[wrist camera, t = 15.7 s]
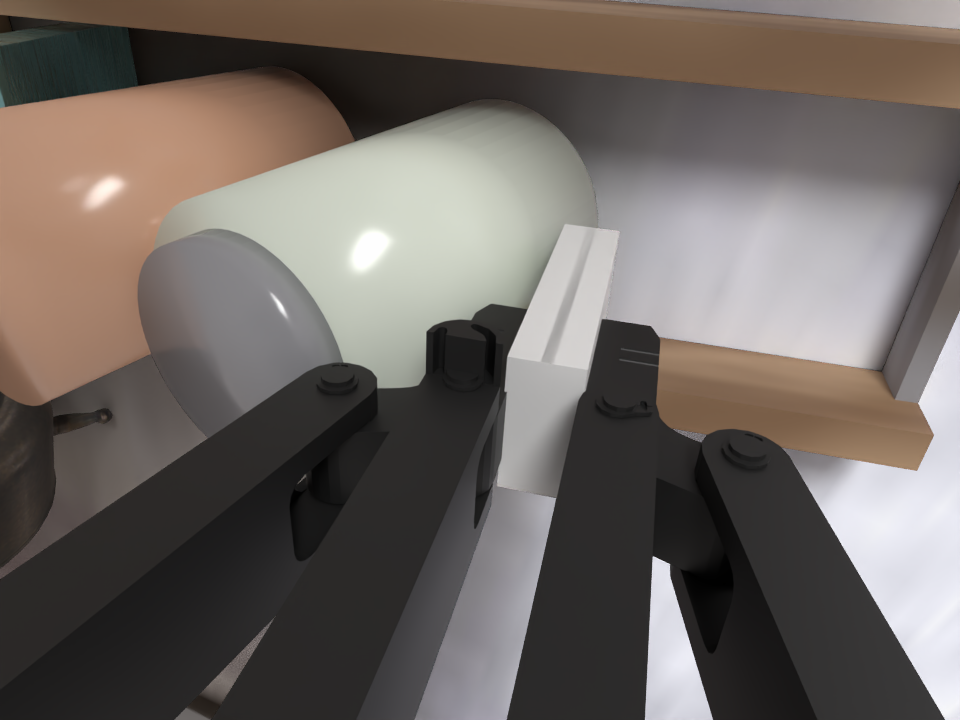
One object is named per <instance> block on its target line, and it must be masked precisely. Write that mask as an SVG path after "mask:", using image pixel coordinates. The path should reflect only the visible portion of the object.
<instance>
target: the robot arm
mask: <svg viewBox="0 0 960 720" xmlns="http://www.w3.org/2000/svg"><path fill="white" fill-rule="evenodd" d="M619 234H620V231H614V230H607V229H599V228H592V227H584V226H576V225H569V224H565V225H564V227H563V229H562V232H561V234H560V236H559V239H558V241H557V243H556V246H555V248H554V250H553V252H552V255H551V257H550V259H549V262H548V264H547V266H546V269H545V271H544V273H543V276H542V278H541V280H540V282H539V285H538V287H537V289H536V292H535V294H534V296H533V299H532V301H531V303H530V305H529V308H528V309H523V308H517V307H511V306H504V305H498V304H489V305H488V306H486V307H484V308H483V309H481V310H479V311H477V312H476V313H475V315H474V316H473V318H472V320H462V319H458V320H450V321H444V322H441V323H438V324H436V325H433V326H432V327H431V328H430V329H429V330H427V331H426V374H425V375H424V377H423V379H422V380H421V382H420V384H419V385H417V386H413V387H404V388H377V377H376V376H375V375H374V373H373V372H372V371H371V370H369V369H367V368H365V367H363V366H361V365H356V364H351V363H345V362H342V363H340V362H336V363H330V364H325V365H321V366H317V367H315V368H313V369H311V370H309V371H307V372H305V373H304V374H302V375H301V376H300V377H298V378H297V379H295V380H294V381H292V382H291V383H289V384H288V385H286V386H285V387H283V388H282V389H280V390H279V391H277V392H276V393H274V394H273V395H272V396H270V397H269V398H267V399H266V400H264V401H263V402H261V403H260V404H258V405H257V406H255V407H254V408H252V409H251V410H249V411H248V412H246V413H245V414H243V415H242V416H241V417H239V418H238V419H236V420H235V421H233V422H232V423H230V424H229V425H227V426H226V427H224V428H223V429H221V430H220V431H218V432H217V433H215V434H214V435H213V436H211V437H210V438H208V439H207V440H205V441H204V442H202V443H201V444H199V445H198V446H196V447H195V448H193V449H192V450H190V451H189V452H187V453H186V454H184V455H183V456H182V457H180V458H179V459H177V460H176V461H174V462H173V463H171V464H170V465H168V466H167V467H165V468H164V469H162V470H161V471H159V472H158V473H156V474H155V475H154V476H152V477H151V478H149V479H148V480H146V481H145V482H143V483H142V484H140V485H139V486H137V487H136V488H134V489H133V490H131V491H130V492H128V493H127V494H126V495H124V496H123V497H121V498H120V499H118V500H117V501H115V502H114V503H112V504H111V505H109V506H108V507H106V508H105V509H103V510H102V511H100V512H99V513H97V514H96V515H95V516H93V517H92V518H90V519H89V520H87V521H86V522H84V523H83V524H81V525H80V526H78V527H77V528H75V529H74V530H72V531H71V532H69V533H68V534H67V535H65V536H64V537H62V538H61V539H59V540H58V541H56V542H55V543H53V544H52V545H50V546H49V547H47V548H46V549H44V550H43V551H41V552H40V553H38V554H37V555H36V556H34V557H33V558H31V559H30V560H28V561H27V562H25V563H24V564H22V565H21V566H19V567H18V568H16V569H15V570H13V571H12V572H10V573H9V574H8V575H6V576H5V577H3V578H2V579H0V720H174V719H175V718H176V717H177V716H178V715H179V714H180V713H181V712H182V711H183V710H184V709H185V708H186V707H187V706H188V705H189V704H190V703H191V702H192V701H193V700H194V699H195V698H196V697H197V696H198V695H199V694H200V693H201V692H202V691H203V690H204V689H205V688H206V687H207V686H208V685H209V684H210V683H211V682H212V681H213V680H214V679H215V678H216V677H217V675H218V674H219V673H220V672H221V671H222V670H223V669H224V668H225V667H226V666H227V665H228V664H229V663H230V662H231V661H232V660H233V659H234V658H235V657H236V656H237V655H238V654H239V653H240V652H241V651H242V650H243V649H244V648H245V647H246V646H247V645H248V644H249V643H250V642H251V641H252V640H253V639H254V638H255V637H256V636H257V635H258V634H259V633H260V632H261V630H262V629H263V628H264V627H265V626H266V625H267V624H268V623H269V622H270V621H271V620H272V619H273V618H274V617H275V616H276V617H275V618H274V620H273V622H272V623H271V625H270V626H269V628H268V630H267V631H266V633H265V635H264V636H263V638H262V639H261V641H260V643H259V644H258V646H257V648H256V649H255V651H254V652H253V654H252V656H251V657H250V659H249V660H248V662H247V664H246V665H245V667H244V669H243V670H242V672H241V673H240V675H239V677H238V678H237V680H236V682H235V683H234V685H233V686H232V688H231V690H230V691H229V693H228V694H227V696H226V698H225V699H224V701H223V703H222V704H221V706H220V707H219V709H218V711H217V712H216V714H215V715H214V716H213V718H212V719H211V720H414V719H415V716H416V714H417V711H418V708H419V705H420V702H421V700H422V697H423V694H424V691H425V688H426V686H427V683H428V680H429V677H430V674H431V672H432V669H433V666H434V663H435V660H436V658H437V655H438V652H439V649H440V646H441V644H442V641H443V638H444V635H445V633H446V630H447V627H448V624H449V621H450V619H451V616H452V613H453V610H454V607H455V605H456V602H457V599H458V596H459V593H460V591H461V588H462V585H463V582H464V579H465V577H466V574H467V571H468V568H469V565H470V563H471V560H472V557H473V554H474V551H475V549H476V546H477V543H478V540H479V538H480V535H481V532H482V529H483V526H484V524H485V521H486V518H487V515H488V512H489V510H490V507H491V500H492V487H493V481H494V478H495V476H496V473H497V470H498V478H497V486H498V487H503V488H508V489H513V490H518V491H523V492H528V493H533V494H538V495H543V496H548V497H553V498H556V503H555V507H554V512H553V516H552V521H551V525H550V529H549V534H548V538H547V543H546V547H545V552H544V556H543V561H542V565H541V570H540V574H539V578H538V583H537V587H536V592H535V596H534V601H533V605H532V610H531V614H530V619H529V623H528V627H527V632H526V636H525V641H524V645H523V650H522V654H521V659H520V663H519V668H518V672H517V676H516V681H515V685H514V690H513V694H512V699H511V703H510V708H509V712H508V717H507V720H645V704H646V683H647V662H648V641H649V620H650V599H651V578H652V557H653V556H654V557H657V558H659V559H661V560H663V561H665V562H667V563H669V564H670V576H671V580H672V584H673V587H674V590H675V594H676V597H677V600H678V604H679V607H680V610H681V614H682V617H683V620H684V624H685V627H686V630H687V634H688V637H689V640H690V644H691V647H692V650H693V654H694V657H695V660H696V664H697V667H698V670H699V674H700V677H701V681H702V684H703V687H704V691H705V694H706V697H707V701H708V704H709V707H710V711H711V714H712V717H713V720H945V719H944V717H943V716H942V714H941V712H940V710H939V709H938V707H937V705H936V704H935V702H934V700H933V699H932V697H931V695H930V694H929V692H928V690H927V688H926V687H925V685H924V683H923V682H922V680H921V678H920V677H919V675H918V673H917V672H916V670H915V668H914V667H913V665H912V663H911V661H910V660H909V658H908V656H907V655H906V653H905V651H904V650H903V648H902V646H901V645H900V643H899V641H898V639H897V638H896V636H895V634H894V633H893V631H892V629H891V628H890V626H889V624H888V623H887V621H886V619H885V617H884V616H883V614H882V612H881V611H880V609H879V607H878V606H877V604H876V602H875V601H874V599H873V597H872V596H871V594H870V592H869V590H868V589H867V587H866V585H865V584H864V582H863V580H862V579H861V577H860V575H859V574H858V572H857V570H856V568H855V567H854V565H853V563H852V562H851V560H850V558H849V557H848V555H847V553H846V552H845V550H844V548H843V546H842V545H841V543H840V541H839V540H838V538H837V536H836V535H835V533H834V531H833V530H832V528H831V526H830V524H829V523H828V521H827V519H826V518H825V516H824V514H823V513H822V511H821V509H820V508H819V506H818V504H817V503H816V501H815V499H814V497H813V496H812V494H811V492H810V491H809V489H808V487H807V486H806V484H805V482H804V481H803V479H802V477H801V475H800V474H799V472H798V470H797V469H796V467H795V465H794V464H793V462H792V460H791V459H790V457H789V455H788V454H787V453H786V452H785V451H784V450H783V449H782V448H781V447H780V446H779V445H778V444H776V443H775V442H773V441H771V440H770V439H768V438H767V437H764V436H762V435H759V434H756V433H754V432H750V431H746V430H738V429H723V430H717V431H714V432H712V433H710V434H708V435H706V437H705V438H704V440H703V441H702V443H701V442H698V441H695V440H693V439H690V438H688V437H686V436H684V435H681V434H679V433H677V432H676V431H674V430H673V429H671V428H670V427H668V426H667V425H666V424H665V423H664V422H663V421H662V420H661V418H660V416H659V411H658V408H657V405H656V399H657V384H658V370H659V367H658V366H659V354H660V338H659V337H658V336H657V334H656V333H655V331H654V330H653V328H652V327H651V326H646V325H639V324H633V323H626V322H620V321H613V320H607V319H606V318H607V311H608V305H609V299H610V292H611V286H612V279H613V273H614V266H615V260H616V254H617V247H618V241H619ZM305 474H306V478H305V479H303V480H302V481H301V482H300V483H299V484H297V483H298V482H299V481H300V480H301V478H302V477H303V476H304V475H305ZM296 484H297V485H296Z"/></svg>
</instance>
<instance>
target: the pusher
mask: <svg viewBox="0 0 960 720" xmlns="http://www.w3.org/2000/svg"><path fill="white" fill-rule="evenodd" d="M136 86H138V83H137V77H136V72H135V66H134V61H133V56H132V50H131V45H130V39H129V34H128V29H127V27H120V26H110V25H100V24H90V23H79V22H65V23H59V24H53V25H48V26H42V27H36V28H30V29H24V30H18V31H13V32H7V33H1V34H0V108H3V107H9V106H15V105H22V104H28V103H34V102H41V101H47V100H53V99H60V98H66V97H73V96H79V95H85V94H92V93H98V92H104V91H111V90H117V89H123V88H130V87H136Z"/></svg>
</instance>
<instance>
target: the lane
mask: <svg viewBox="0 0 960 720" xmlns="http://www.w3.org/2000/svg"><path fill="white" fill-rule="evenodd" d="M8 16H18V17H28V18H39V19H49V20H59V21H69V22H79V23H90V24H100V25H110V26H120V27H130V28H141V29H151V30H161V31H171V32H181V33H192V34H202V35H212V36H222V37H232V38H243V39H253V40H263V41H273V42H283V43H294V44H304V45H314V46H324V47H334V48H345V49H355V50H365V51H375V52H386V53H396V54H406V55H416V56H426V57H437V58H447V59H457V60H467V61H477V62H488V63H498V64H508V65H518V66H528V67H539V68H549V69H559V70H569V71H579V72H590V73H600V74H610V75H620V76H630V77H641V78H651V79H661V80H671V81H681V82H692V83H702V84H712V85H722V86H733V87H743V88H753V89H763V90H773V91H784V92H794V93H804V94H814V95H824V96H835V97H845V98H855V99H865V100H875V101H886V102H896V103H906V104H916V105H926V106H937V107H947V108H957V109H960V29H949V28H936V27H924V26H912V25H900V24H887V23H875V22H863V21H851V20H839V19H826V18H814V17H802V16H790V15H777V14H765V13H753V12H741V11H729V10H716V9H704V8H692V7H680V6H667V5H655V4H643V3H631V2H619V1H606V0H0V34H1V33H7V32H12V29H11V25H10V22H9V18H8ZM959 311H960V182H959V184H958V187H957V189H956V192H955V194H954V197H953V199H952V201H951V204H950V206H949V209H948V211H947V214H946V216H945V219H944V221H943V223H942V226H941V228H940V231H939V233H938V236H937V238H936V241H935V243H934V246H933V248H932V250H931V253H930V255H929V258H928V260H927V263H926V265H925V268H924V270H923V272H922V275H921V277H920V280H919V282H918V285H917V287H916V290H915V292H914V294H913V297H912V299H911V302H910V304H909V307H908V309H907V312H906V314H905V316H904V319H903V321H902V324H901V326H900V329H899V331H898V334H897V336H896V338H895V341H894V343H893V346H892V348H891V351H890V353H889V356H888V358H887V360H886V363H885V365H884V368H883V370H882V372H881V371H874V370H868V369H861V368H855V367H848V366H842V365H835V364H829V363H822V362H816V361H809V360H803V359H796V358H790V357H783V356H777V355H770V354H764V353H757V352H751V351H744V350H738V349H731V348H725V347H718V346H712V345H705V344H699V343H692V342H686V341H679V340H673V339H666V338H660V337H659V338H660V354H659V366H658V367H659V370H658V384H657V399H656V405H657V408H658V411H659V416H660V418H661V420H662V421H663V422H664V423H665V424H666V425H667V426H668V427H670V428H673V429H679V430H684V431H690V432H696V433H702V434H710V433H712V432H714V431H717V430H723V429H738V430H746V431H750V432H754V433H756V434H759V435H762V436H764V437H767V438H768V439H770V440H771V441H773V442H775V443H776V444H778V445H779V446H780V447H783V448H788V449H794V450H800V451H806V452H812V453H817V454H823V455H829V456H835V457H840V458H846V459H852V460H858V461H864V462H869V463H875V464H881V465H887V466H892V467H898V468H904V469H910V470H916V471H917V470H918V467H919V465H920V463H921V461H922V459H923V457H924V455H925V453H926V451H927V449H928V447H929V445H930V442H931V440H932V438H933V436H934V434H933V432H932V430H931V428H930V426H929V424H928V422H927V420H926V418H925V416H924V414H923V413H922V411H921V409H920V407H919V405H918V402H919V400H920V397H921V395H922V393H923V391H924V389H925V386H926V384H927V382H928V380H929V377H930V375H931V373H932V371H933V369H934V366H935V364H936V362H937V360H938V358H939V355H940V353H941V351H942V349H943V346H944V344H945V342H946V340H947V338H948V335H949V333H950V331H951V329H952V327H953V324H954V322H955V320H956V318H957V316H958V313H959Z"/></svg>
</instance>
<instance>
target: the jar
mask: <svg viewBox="0 0 960 720" xmlns="http://www.w3.org/2000/svg"><path fill="white" fill-rule="evenodd" d="M565 224H569V225H576V226H584V227H592V228H598V209H597V203H596V196H595V193H594V189H593V185H592V182H591V179H590V177H589V174H588V172H587V169H586V167H585V165H584V163H583V161H582V160H581V158H580V156H579V154H578V152H577V151H576V150H575V148H574V147H573V145H572V144H571V143H570V141H569V140H568V139H567V138H566V137H565V135H564V134H563V133H562V132H561V131H560V130H559V129H558V128H557V127H556V126H555V125H553V124H552V123H551V122H550V121H549V120H548V119H546V118H545V117H543V116H542V115H540V114H539V113H537V112H536V111H534V110H532V109H530V108H528V107H525V106H523V105H521V104H517V103H514V102H511V101H506V100H500V99H482V100H477V101H472V102H469V103H466V104H463V105H460V106H457V107H454V108H451V109H448V110H446V111H443V112H440V113H437V114H434V115H431V116H428V117H425V118H422V119H419V120H416V121H413V122H411V123H408V124H405V125H402V126H399V127H396V128H393V129H390V130H387V131H384V132H381V133H379V134H376V135H373V136H370V137H367V138H364V139H361V140H358V141H355V142H352V143H349V144H347V145H344V146H341V147H338V148H335V149H332V150H329V151H326V152H323V153H320V154H317V155H314V156H312V157H309V158H306V159H303V160H300V161H297V162H294V163H291V164H288V165H285V166H282V167H280V168H277V169H274V170H271V171H268V172H265V173H262V174H259V175H256V176H253V177H250V178H248V179H245V180H242V181H239V182H236V183H233V184H230V185H227V186H224V187H221V188H218V189H215V190H213V191H210V192H207V193H204V194H201V195H198V196H195V197H192V198H190V199H187V200H184V201H182V202H180V203H179V204H177V205H176V206H174V207H173V208H172V209H171V210H170V211H169V213H168V214H167V215H166V216H165V217H164V219H163V221H162V223H161V225H160V227H159V229H158V232H157V235H156V238H155V244H154V250H153V251H152V253H151V254H150V255H149V256H148V257H147V258H146V260H145V262H144V264H143V265H142V268H141V272H140V275H139V281H138V308H139V314H140V319H141V324H142V328H143V332H144V335H145V338H146V341H147V344H148V347H149V350H150V352H151V354H152V357H153V359H154V361H155V364H156V366H157V368H158V370H159V372H160V374H161V376H162V378H163V379H164V381H165V383H166V384H167V386H168V388H169V390H170V391H171V393H172V394H173V396H174V397H175V399H176V400H177V402H178V403H179V405H180V406H181V407H182V409H183V410H184V411H185V413H186V414H187V415H188V416H189V418H190V419H191V420H192V421H193V422H194V423H195V425H196V426H197V427H198V428H199V429H200V430H201V431H202V432H203V433H204V434H205V435H206V436H207V437H208V438H210V437H211V436H213V435H214V434H215V433H217V432H218V431H220V430H221V429H223V428H224V427H226V426H227V425H229V424H230V423H232V422H233V421H235V420H236V419H238V418H239V417H241V416H242V415H243V414H245V413H246V412H248V411H249V410H251V409H252V408H254V407H255V406H257V405H258V404H260V403H261V402H263V401H264V400H266V399H267V398H269V397H270V396H272V395H273V394H274V393H276V392H277V391H279V390H280V389H282V388H283V387H285V386H286V385H288V384H289V383H291V382H292V381H294V380H295V379H297V378H298V377H300V376H301V375H302V374H304V373H305V372H307V371H309V370H311V369H313V368H315V367H317V366H321V365H325V364H330V363H336V362H340V363H342V362H345V363H351V364H356V365H361V366H363V367H365V368H367V369H369V370H371V371H372V372H373V373H374V375H375V376H376V377H377V388H404V387H413V386H417V385H419V384H420V382H421V380H422V379H423V377H424V375H425V374H426V331H427V330H429V329H430V328H431V327H432V326H433V325H436V324H438V323H441V322H444V321H450V320H458V319H462V320H472V318H473V316H474V315H475V313H476V312H477V311H479V310H481V309H483V308H484V307H486V306H488V305H489V304H498V305H504V306H511V307H517V308H523V309H528V308H529V305H530V303H531V301H532V299H533V296H534V294H535V292H536V289H537V287H538V285H539V282H540V280H541V278H542V276H543V273H544V271H545V269H546V266H547V264H548V262H549V259H550V257H551V255H552V252H553V250H554V248H555V246H556V243H557V241H558V239H559V236H560V234H561V232H562V229H563V227H564V225H565ZM304 476H306V474H305V475H304Z"/></svg>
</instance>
